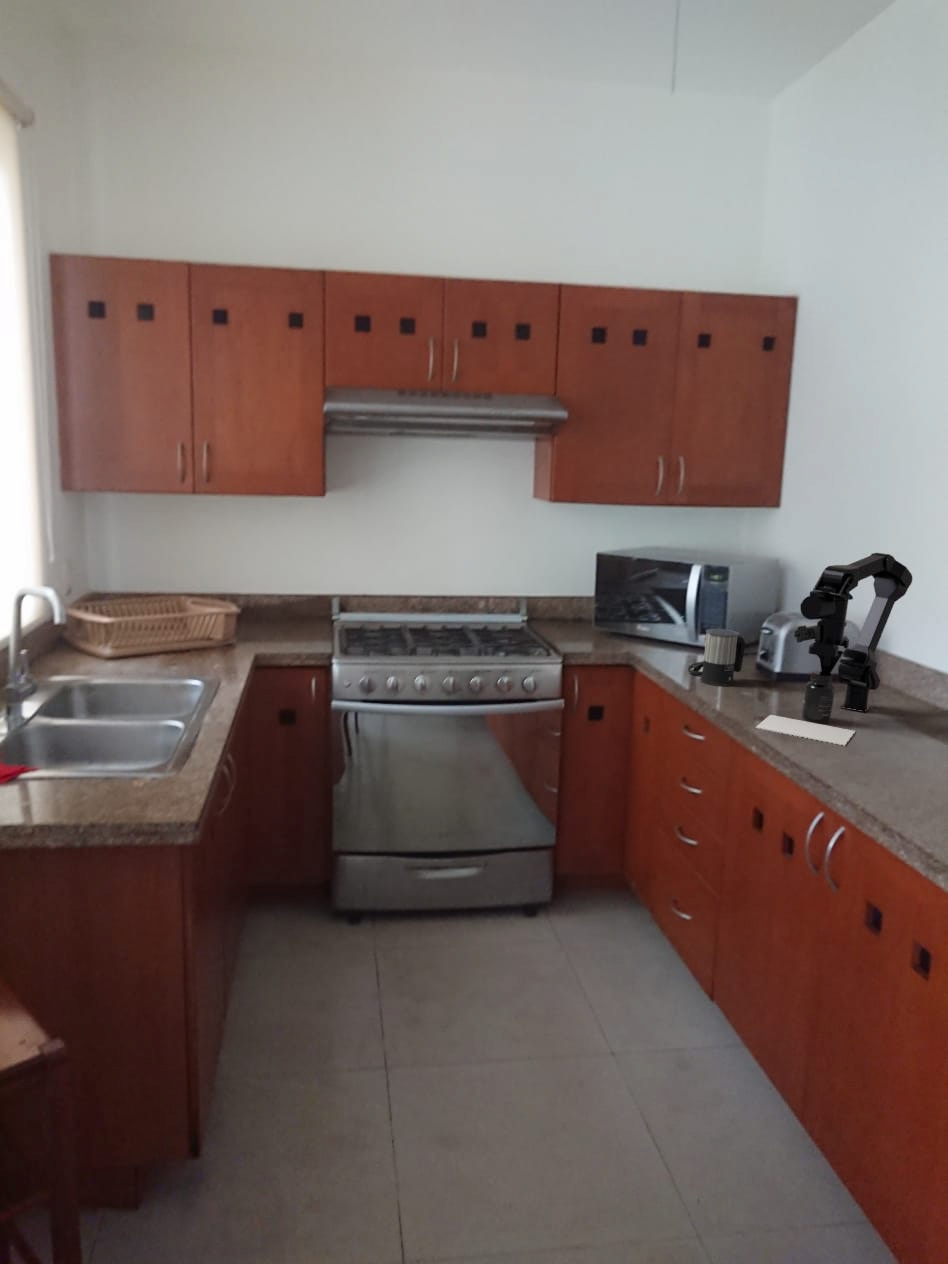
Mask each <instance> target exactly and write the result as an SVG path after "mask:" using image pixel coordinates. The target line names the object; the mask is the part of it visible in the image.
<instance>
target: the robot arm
mask: <svg viewBox="0 0 948 1264" xmlns="http://www.w3.org/2000/svg"><path fill="white" fill-rule="evenodd" d="M871 576H872V578H873V579H874V581H873V589H874V594H875V596H874V598H873V601H872V604H871V607H870V609H869V611H868V613H867V616H866V619H865V621H864V623H863V626H862V628H861V631H860V633H859V636H858V638H857V640H856V643H855V645H854V646H853V647H851V648H849V645H850V639H849V638H848V637H847V635H844V634H845V627H847V621H846V619H847V612H848V605H849V601H850V600H854V596H853V595H852V594H851V593H850V592H851V591H853V590H854V589H856V588H857V587H858V586H859V582H860V581H862V580H864V579H867V578H869V577H871ZM911 584H913V574H912V573H911V572H910V570H909V569H908V567H907V566H906V565H904V564H902V563H901V562H899V561H897V560H896V559H895V557H894V556H893V555H891V554H889V553H884V552H883V553H881V552H874V553H871V554H870V555H869V556H866V557H864V558H860V559H859V560H857V561H855V562H852V563H849V564H845V565H844V564H834V565H828V566H827V567H825V568H824V570H823V572H822V573H821V575H820V576H819V578H818V580H817V581H816V584H815V585H814V587H813V588H812V590H811V591H810V592H809V596H808V595H807V596H806V597H804V599H803V600H802V602H801V603H800V607H799V608H800V613H801V615H802V616H803V617H804V619H807V620H810V621H812V620H818V621H817V622H816V624H814V625H811V626H807V625H805V624H804V625H799V626H797V629H795V630H794V635H793V636H794V638H795V639H796V643H803V642H804V641H805V642H806V641H811V640H814V642H813V643H811V644H810V645H809V646H808V648H809V649H808V654H810V655H814V656H817V657H818V658H819V663H820V669H821V670H820V671H822V672H827V673H831V674H832V672H833V671H834V669H835V667H836V665H837V663H838V661H839V663H838V667H837V671H838V682H839V683H840V684H845V685H846V687H845V694H844V700H843V703H842V704H840V706H841V707H845V708H851V709H856V710H862V711H865V710H866V711H867V710H868V709H869V710H870V708H871V705H868V704H869V697H870V690H872V691H876V690H877V689H878V688H879V686H880V684H881V679H880V677H879V675H878V673H877V671H876V668H877V663H878V662H877V659H876V655H875V654H876V653H875V652H876V649H877V647H878V644H879V642H880V639H881V637H882V635H883V632H884V629H885V628H886V625H887V622H888V620H889V617H890V615H891V612H892V609H893V607H894V605H895V603H896V602H898V601H899V600H900V599H902V597H904V596H905V595H906V593H907V592H908V589H909V587H911ZM840 647H843V649H844V651H842V650H839V649H840ZM840 658H841V659H840ZM867 705H868V706H867ZM869 707H870V708H869ZM869 710H868V711H869ZM868 711H867V712H868Z"/></svg>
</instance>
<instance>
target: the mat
mask: <svg viewBox="0 0 948 1264" xmlns="http://www.w3.org/2000/svg"><path fill="white" fill-rule="evenodd" d="M755 729H758V730H762V731H768V732H772V733H776V734H782V733H783V735H787V734H788V735H787V736H792V735H793V736H792V737H797V736H798V737H797V738H801V737H804V738H803V739H806V738H808V740H811V739H813V740H812V741H816V740H818V741H817V742H821V741H823V742H822V743H826V742H828V744H831V743H833V745H836V744H838V746H841V745H843V746H842V747H846V745H847V744H848V743H849V741H850V740H851V739H852V738H853V736H854V735H855V733H856V730H851V729H846V728H841V727H837V726H836V727H835V726H830V725H826V724H820V723H813V722H809V721H806V720H799V719H795V718H790V717H784V716H779V715H774V714H770V715H768V716H767V717H766V718H765V719H763V720H762V721H761V722H760V723H758V725H756V726H755ZM853 734H854V735H853ZM850 738H851V739H850ZM847 742H848V743H847Z"/></svg>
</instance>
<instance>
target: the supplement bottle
mask: <svg viewBox="0 0 948 1264" xmlns="http://www.w3.org/2000/svg"><path fill="white" fill-rule="evenodd" d="M810 680H811V681H808V682H807V683H806V685H805V687H804V694H803V695H804V696H803V700H802V701H803V702H802V708H801V718H802V720H803V721H806V722H811V723H816V724H820V723H824V724H829V723H830V721H831V719H832V718H831V717H832V713H833V712H832V711H833V706H834V698H835V687H834V686H833V685H832V684H831V683H832V682H833V674H832V672H831V673H827V672H822V671H821V670H814V671H811V675H810Z"/></svg>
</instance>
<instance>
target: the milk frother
mask: <svg viewBox="0 0 948 1264" xmlns="http://www.w3.org/2000/svg"><path fill="white" fill-rule="evenodd" d="M705 632H706V635H705V645H704V654H703V661H697V662H694V663H692V664H690V665H688V667H687V671H688V673H690V674H691V675H694V676H701V678H700V681H701V682H703V683H705V684H707V685H712V686H720V687H726V686H727V687H729V686H732V685H734V683H735V682H734V674H735V673H740V672H741V671H742V666H743V660H744V654H745V648H746V642H745V639H744V637H742V636H741V635H739V634H740V633H739V632H738V631H735V630H731V629H725V628H724V629H723V628H708V629H706V630H705ZM700 670H702V671H700ZM734 672H735V673H734Z"/></svg>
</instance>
